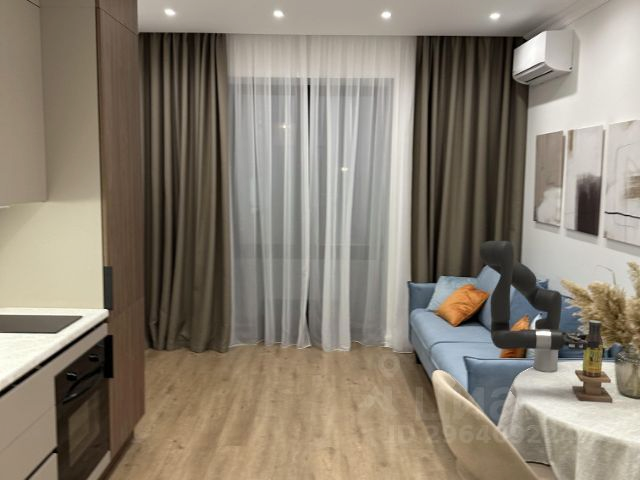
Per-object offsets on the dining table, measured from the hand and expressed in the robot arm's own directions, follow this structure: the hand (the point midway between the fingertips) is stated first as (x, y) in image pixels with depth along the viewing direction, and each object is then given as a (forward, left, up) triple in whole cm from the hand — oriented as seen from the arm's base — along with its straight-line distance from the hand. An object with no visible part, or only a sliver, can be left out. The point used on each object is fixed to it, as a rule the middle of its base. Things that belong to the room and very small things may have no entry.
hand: (595, 341), depth 216 cm
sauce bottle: (0, -1, -13) cm, 13 cm away
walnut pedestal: (0, 0, -20) cm, 21 cm away
